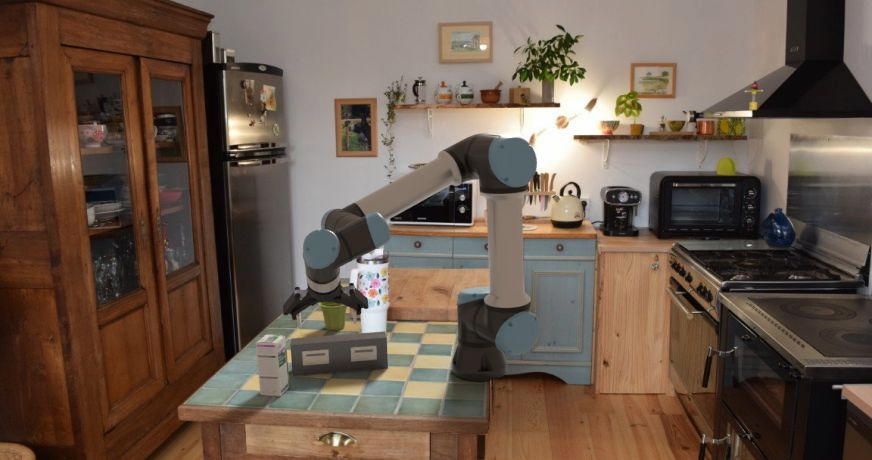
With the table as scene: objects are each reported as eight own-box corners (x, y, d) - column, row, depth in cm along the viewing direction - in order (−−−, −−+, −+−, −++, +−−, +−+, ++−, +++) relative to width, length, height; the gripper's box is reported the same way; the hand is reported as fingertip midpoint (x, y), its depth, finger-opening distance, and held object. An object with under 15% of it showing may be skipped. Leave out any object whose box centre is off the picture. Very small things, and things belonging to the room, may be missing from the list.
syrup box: (281, 397, 172) (277, 342, 170) (259, 395, 174) (255, 341, 171) (290, 387, 178) (286, 334, 175) (268, 386, 179) (265, 333, 176)
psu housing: (386, 361, 194) (385, 331, 192) (388, 369, 188) (387, 338, 187) (293, 369, 190) (291, 338, 188) (292, 377, 184) (290, 345, 183)
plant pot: (335, 334, 216) (333, 308, 215) (314, 329, 222) (313, 303, 220) (355, 326, 224) (354, 301, 222) (335, 321, 229) (333, 296, 227)
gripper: (377, 261, 157) (375, 303, 174) (266, 268, 153) (276, 311, 170) (380, 289, 153) (378, 330, 170) (266, 297, 149) (276, 338, 166)
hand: (327, 320), depth 170 cm, fingers open, 13 cm apart
